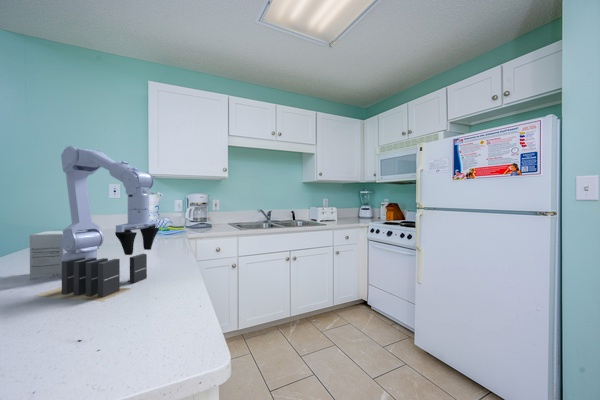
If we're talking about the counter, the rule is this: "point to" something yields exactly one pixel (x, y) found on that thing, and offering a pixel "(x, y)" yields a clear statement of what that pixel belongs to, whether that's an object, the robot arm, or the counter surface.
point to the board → (58, 294)
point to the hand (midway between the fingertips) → (138, 252)
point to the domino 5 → (138, 268)
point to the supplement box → (46, 254)
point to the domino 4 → (108, 277)
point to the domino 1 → (68, 275)
